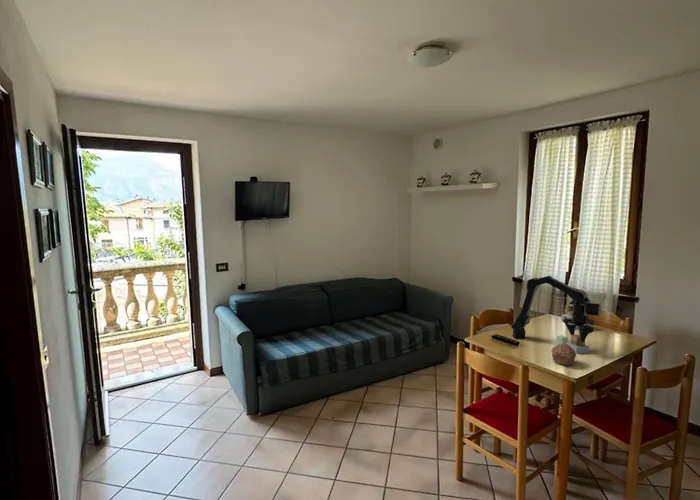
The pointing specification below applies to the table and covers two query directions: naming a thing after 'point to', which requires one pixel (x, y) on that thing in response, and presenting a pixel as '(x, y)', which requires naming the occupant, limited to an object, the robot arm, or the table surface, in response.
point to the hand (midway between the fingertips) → (577, 339)
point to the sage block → (562, 339)
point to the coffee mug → (569, 317)
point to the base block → (579, 348)
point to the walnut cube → (577, 340)
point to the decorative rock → (563, 354)
